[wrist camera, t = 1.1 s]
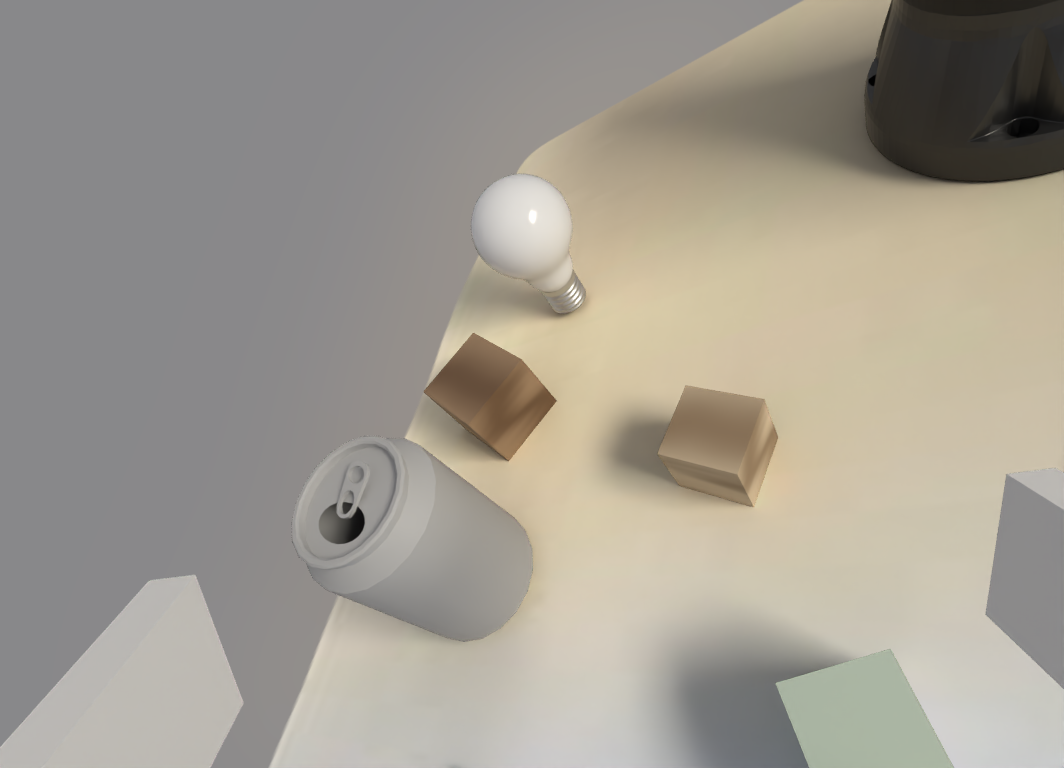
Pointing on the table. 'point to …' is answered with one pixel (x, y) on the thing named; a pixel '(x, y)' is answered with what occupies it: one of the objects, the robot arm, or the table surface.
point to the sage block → (861, 717)
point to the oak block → (719, 444)
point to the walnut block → (491, 395)
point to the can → (411, 539)
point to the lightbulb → (529, 237)
